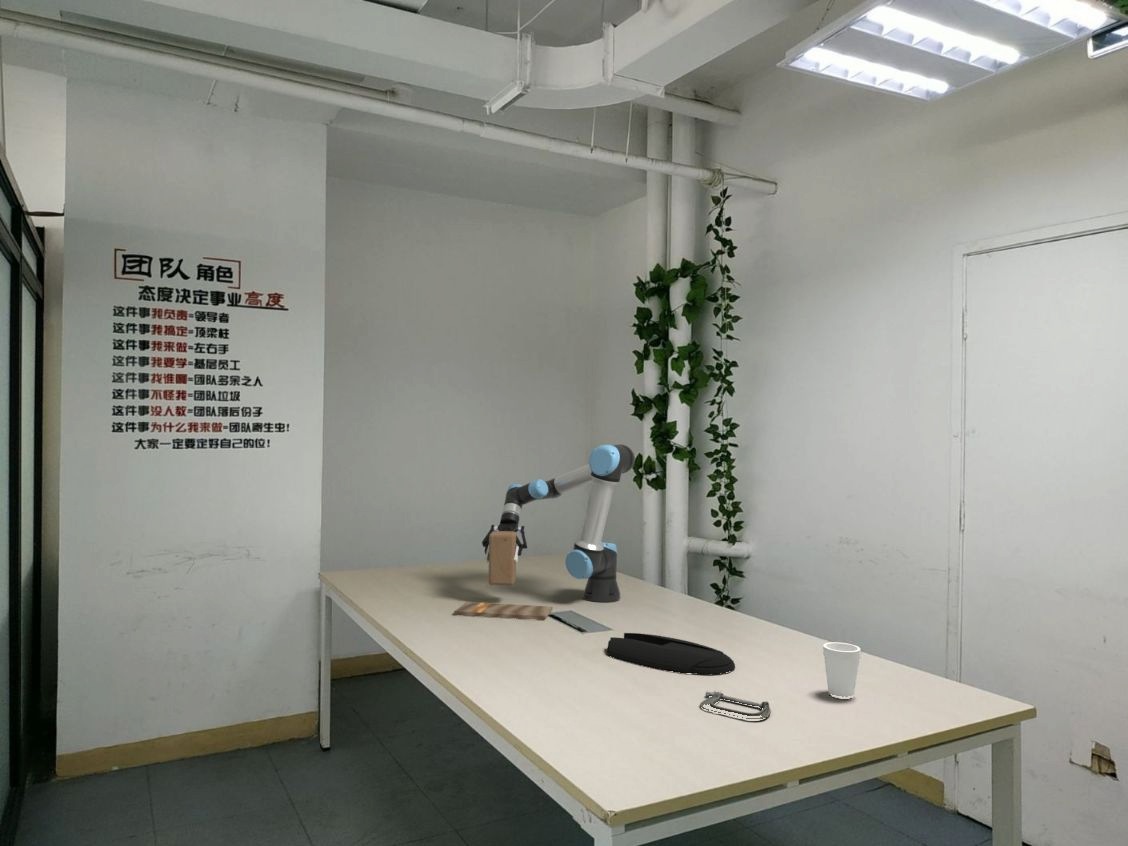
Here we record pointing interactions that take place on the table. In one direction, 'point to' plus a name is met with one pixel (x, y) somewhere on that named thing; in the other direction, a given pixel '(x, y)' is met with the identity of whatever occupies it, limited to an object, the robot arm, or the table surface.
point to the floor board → (504, 610)
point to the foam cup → (841, 667)
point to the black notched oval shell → (669, 654)
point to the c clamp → (717, 696)
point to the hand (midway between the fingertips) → (501, 561)
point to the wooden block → (502, 558)
